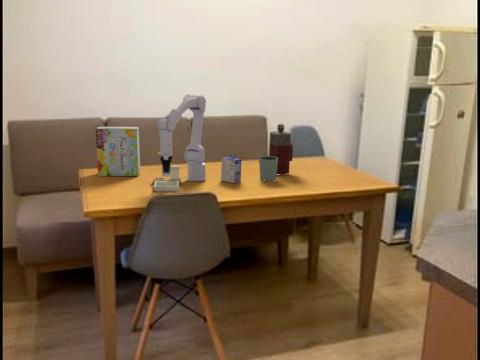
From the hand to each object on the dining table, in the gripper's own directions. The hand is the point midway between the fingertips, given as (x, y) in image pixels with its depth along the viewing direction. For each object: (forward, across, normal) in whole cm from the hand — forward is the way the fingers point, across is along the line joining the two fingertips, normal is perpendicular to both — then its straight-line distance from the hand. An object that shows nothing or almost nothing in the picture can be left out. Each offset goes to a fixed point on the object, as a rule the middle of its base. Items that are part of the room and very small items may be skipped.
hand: (166, 171), depth 242 cm
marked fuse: (+2, 0, 0) cm, 2 cm away
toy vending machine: (+9, -34, +63) cm, 72 cm away
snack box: (+9, -30, -26) cm, 40 cm away
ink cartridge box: (+9, -15, +33) cm, 37 cm away
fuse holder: (+8, -10, 0) cm, 13 cm away
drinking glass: (+9, -18, +53) cm, 57 cm away
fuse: (+8, -10, +4) cm, 13 cm away
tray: (+8, 0, 0) cm, 8 cm away
